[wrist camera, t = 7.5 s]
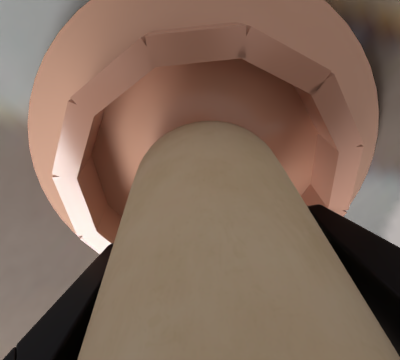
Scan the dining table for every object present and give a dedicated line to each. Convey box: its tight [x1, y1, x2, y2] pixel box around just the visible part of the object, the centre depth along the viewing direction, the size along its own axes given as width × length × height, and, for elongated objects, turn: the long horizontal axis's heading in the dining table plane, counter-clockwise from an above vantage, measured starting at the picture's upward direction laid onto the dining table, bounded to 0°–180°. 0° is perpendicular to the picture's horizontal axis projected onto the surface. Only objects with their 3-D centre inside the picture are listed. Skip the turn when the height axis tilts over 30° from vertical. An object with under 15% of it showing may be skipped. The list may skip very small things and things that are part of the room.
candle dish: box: [28, 0, 379, 254], centre depth 11 cm, size 14×14×2 cm
